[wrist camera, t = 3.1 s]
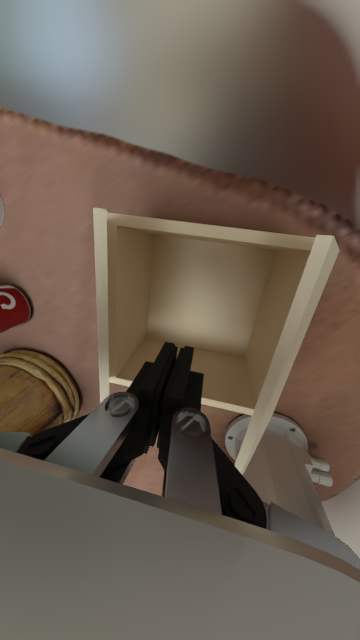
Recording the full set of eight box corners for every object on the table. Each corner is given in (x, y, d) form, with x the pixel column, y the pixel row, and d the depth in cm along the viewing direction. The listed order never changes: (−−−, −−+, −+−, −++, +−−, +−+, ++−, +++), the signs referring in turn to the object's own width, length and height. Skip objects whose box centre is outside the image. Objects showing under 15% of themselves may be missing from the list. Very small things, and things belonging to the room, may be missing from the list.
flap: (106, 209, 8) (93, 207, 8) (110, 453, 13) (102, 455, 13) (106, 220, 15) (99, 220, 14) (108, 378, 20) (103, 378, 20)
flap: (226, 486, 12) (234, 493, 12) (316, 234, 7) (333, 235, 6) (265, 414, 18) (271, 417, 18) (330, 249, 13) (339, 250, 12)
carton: (283, 243, 22) (333, 239, 13) (248, 361, 28) (263, 418, 18) (149, 226, 24) (106, 212, 14) (142, 340, 30) (109, 382, 20)
